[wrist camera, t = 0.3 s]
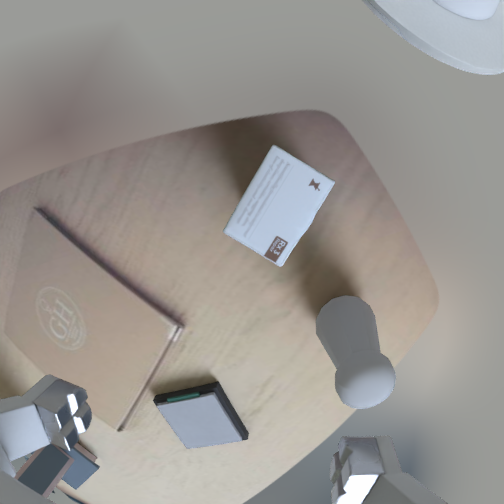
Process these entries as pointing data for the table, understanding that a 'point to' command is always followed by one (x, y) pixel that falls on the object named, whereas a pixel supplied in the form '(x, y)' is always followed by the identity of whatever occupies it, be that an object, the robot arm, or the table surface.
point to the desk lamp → (56, 468)
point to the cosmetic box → (278, 205)
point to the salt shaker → (355, 352)
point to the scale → (201, 416)
